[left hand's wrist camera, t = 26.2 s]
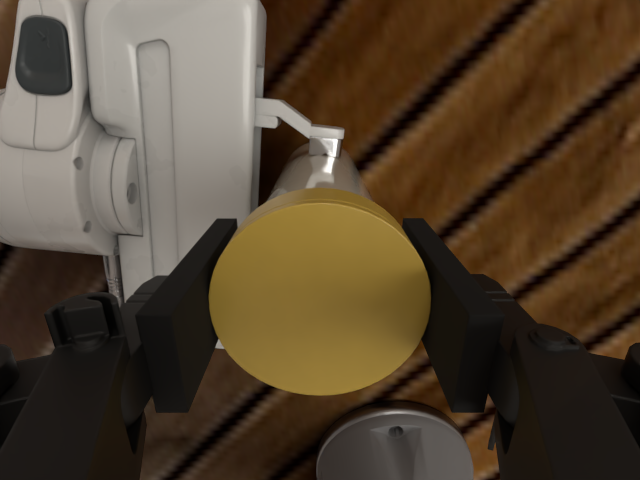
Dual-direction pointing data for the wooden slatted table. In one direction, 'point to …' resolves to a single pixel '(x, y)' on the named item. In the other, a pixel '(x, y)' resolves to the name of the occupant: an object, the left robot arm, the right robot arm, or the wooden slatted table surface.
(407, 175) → the wooden slatted table surface
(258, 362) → the lid
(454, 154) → the wooden slatted table surface
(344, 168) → the jar
